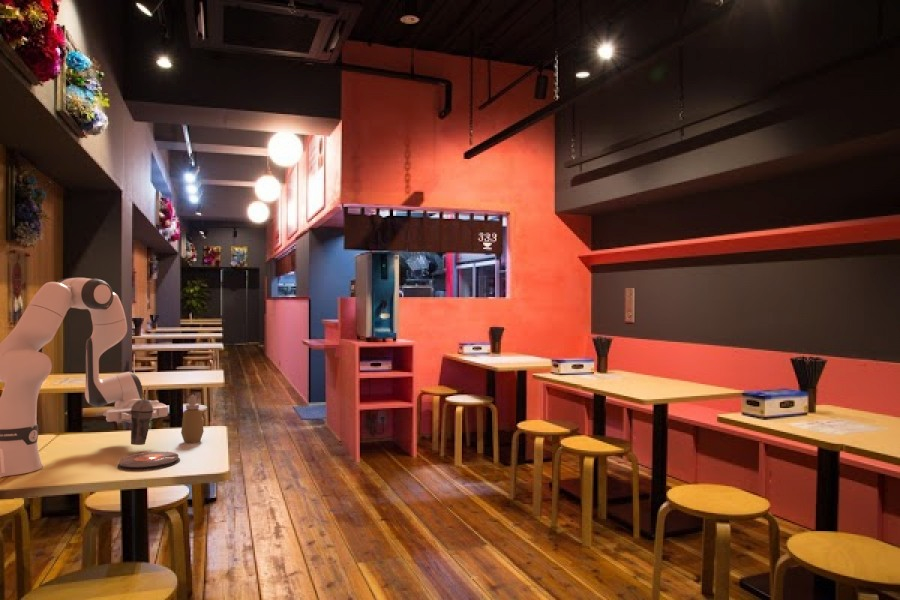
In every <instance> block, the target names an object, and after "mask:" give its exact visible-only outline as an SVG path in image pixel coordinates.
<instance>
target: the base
mask: <svg viewBox="0 0 900 600" xmlns="http://www.w3.org/2000/svg"><path fill="white" fill-rule="evenodd" d="M180 462H181V458H179V457H178V460H177V461H176V462H174V463H171V464H168V465H164V466H159V467H152V468H139V469H132V468H123V467H120V466H119V463H118V464H117V466H116V468H117V469H119V470H120V471H121V470H122V471H129V472H141V471H153V470H159V469H165V468H168V467H171V466H175V465H177V464H179V463H180Z"/></svg>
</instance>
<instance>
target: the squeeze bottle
mask: <svg viewBox="0 0 900 600" xmlns="http://www.w3.org/2000/svg"><path fill="white" fill-rule="evenodd" d="M181 421H182V423H181V433H180V434H181V437H182V439H183V442H184V443H186V444H194V443H193V442H196V443H199V442H201V440H202V438H203V435H204V431H205V430H204V421H203V413H202V410H201V409H200V404H199V403H197V402H196V397H195V395H194V394H191V395H190V397H189V403H188V404H185V410H184V411H183V414H182V420H181ZM198 441H199V442H198Z"/></svg>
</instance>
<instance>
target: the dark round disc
mask: <svg viewBox="0 0 900 600" xmlns="http://www.w3.org/2000/svg"><path fill="white" fill-rule="evenodd" d="M178 458H179V454H178V453H176V452H172V451H149V452H141V453H134V454H131V455H128V456H123V457H121V458H120V459H119V460H118V464H119V466H120V467H123V468H132V469H139V468H152V467H159V466H164V465H168V464H171V463H174V462H176V461H177V460H178Z"/></svg>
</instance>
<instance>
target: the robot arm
mask: <svg viewBox="0 0 900 600" xmlns="http://www.w3.org/2000/svg"><path fill="white" fill-rule="evenodd" d="M71 308H72V309H79V310H87V311H89V313H90V317H91V322H92V334H91V336H90V337H89V338H88V339H86V342H85V356H84V357H85V360H84V361H85V389H84V398H85V400H86V402H87V404H89V406H92V407H95V408H101V407H104V406H107V405H108V404H112V403H114V408H109V409H107V410H106V412H103V413H102V415H103V416H104V417H106V418H105V420H106V422H107V423H108V422H109V423H110V422H120V421H124V422H126V423H129V424H131V421H132V417H131V416H132V415H131V409H132V406H133V405H134V403H135V402H137V401H138V400H143V399H141V398H142V397H143V394H144V392H143V391H144V390H143V385H142V382H141V380H140V378H139V377H138V375H137V374H135V373H133V372H131V371H125V372H121V373H118V374H115V375H111V376H107V377H104V378H100V371H99V370H100V363H99V362H100V358H101V356H102V355H103V353H105V352H106V351H107V350H110V349H111V348H112V347H114V346H115V345H117V344H118V343H120V342H121V341H122V340H123V339H124V338H125V337H126V336H127V335H126V334H127V332H128V324H127V323H128V322H127V319H126V313H125V310H124V307H123V304H122V301H121V300H120V297H119V295H118V294H117V293H115V292H114V291H113V289H112V287H111V286H110V285H109V283H108V282H106V281H105V280H102V279H99V278H87V277H66V278H63V279H59V280H58V281H57V282H56V281H49V282H46V283H44V284H43V285H42V286H41V287H40V288H39V289H38V290H37V292H36V293H35V294H34V296H33V297H32V299H31V300H30V302H29V303H28V305H27V307H26V308H25V310H24V311H23V313H22V315H21V317H20V318H19V320H18V321H17V323H16V325H15V326H14V327H13V329H12V330H11V331H10V332H9V334H7V336H6V337H5V338H4V339H3V340H2V341H1V342H0V383H4V386H3V390H2V393H1V395H0V478H2V477H8V476H9V477H10V476H17V475H22V474H27V473H31V472H35V471H39V470H40V469H42V468H43V463H42V461H41V457H40V453H39V447H38V438H39V425H38V424H37V414H38V413H37V412H38V411H37V410H38V409H37V408H38V397H39V393H40V391H41V388H42V385H43V383H44V382H45V380H46V379H47V378H48V377H49V376H50V374H51V372H52V368H53V367H52V365H53V364H52V361H51V358H50V357H49V356H48V355H47V354H45V353H43V352H41V351H40V350H41V349H42V348H43V347H45V345H47V344H49V343H50V342H51V341H53V339H54V337H55V335H56V333H57V332H58V330H59V328H60V326H61V324H62V323H63V321H64V319H65V317H66V315H67V313H68V311H69V310H70V309H71ZM146 400H147V401H149V402H150V403H151V404H152V406H153V413H152V416H151V419H152V420H153V419H158V418H162V417H163V418H164V417H167V416H168V415H169V408H168V407H169V406H167V405H166V404H165V403H163V402H160V401H159V400H158V399H157V400H155V399H154V400H152V399H149V400H148V399H146ZM151 419H150V420H151Z"/></svg>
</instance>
